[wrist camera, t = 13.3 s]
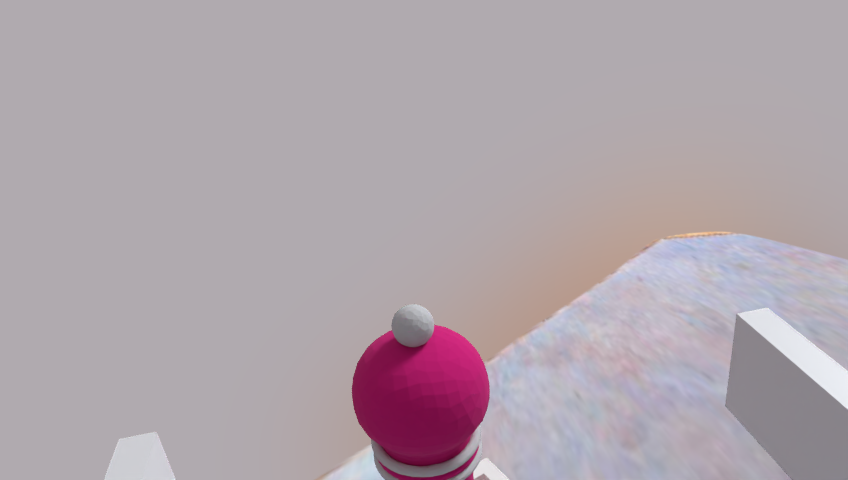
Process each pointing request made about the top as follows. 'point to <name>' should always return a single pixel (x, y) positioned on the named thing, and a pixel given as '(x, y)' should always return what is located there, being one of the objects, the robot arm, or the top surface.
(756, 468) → the top surface
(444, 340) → the pepper mill
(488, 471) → the tray
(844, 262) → the top surface
